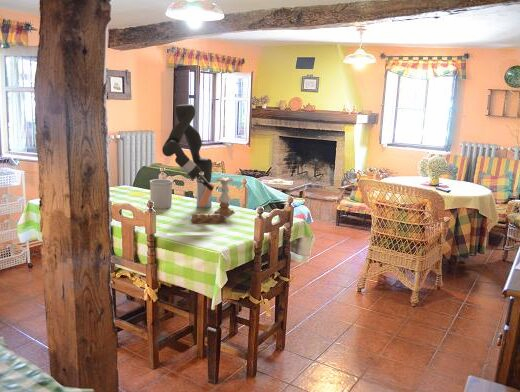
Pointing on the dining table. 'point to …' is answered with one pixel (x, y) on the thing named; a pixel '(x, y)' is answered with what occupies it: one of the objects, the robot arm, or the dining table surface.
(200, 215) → the offcut block
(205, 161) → the robot arm
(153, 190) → the utensil holder
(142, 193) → the dining table surface
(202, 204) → the slat
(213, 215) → the offcut block
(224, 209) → the candle holder
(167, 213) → the dining table surface
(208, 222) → the rack
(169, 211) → the dining table surface
